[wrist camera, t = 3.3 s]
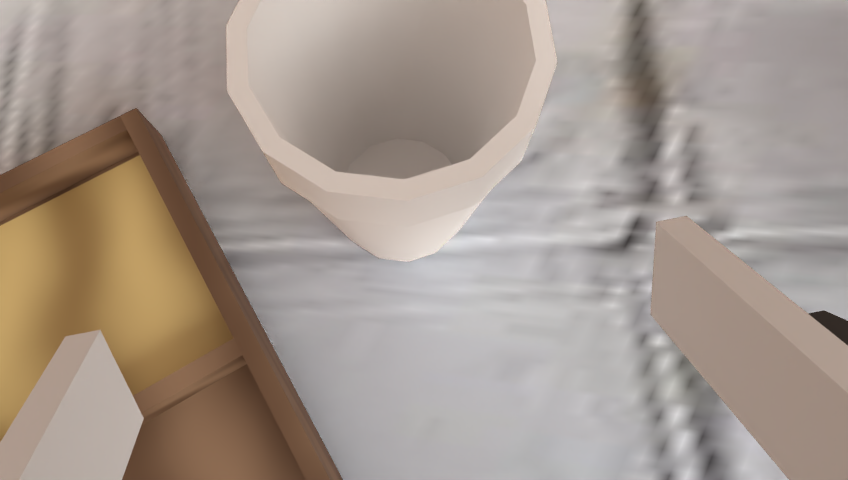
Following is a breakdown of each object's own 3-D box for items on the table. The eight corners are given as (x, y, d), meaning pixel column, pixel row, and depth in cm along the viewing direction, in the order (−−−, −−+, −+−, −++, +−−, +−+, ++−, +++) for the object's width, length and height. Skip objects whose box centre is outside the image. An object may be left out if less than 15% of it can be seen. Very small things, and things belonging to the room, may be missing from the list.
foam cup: (267, 224, 29) (155, 84, 17) (374, 82, 31) (345, -136, 19) (433, 331, 28) (445, 265, 15) (532, 174, 30) (614, 5, 18)
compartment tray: (161, 135, 30) (136, 108, 28) (406, 600, 25) (405, 623, 22) (-91, 261, 28) (-144, 246, 26) (113, 798, 23) (72, 850, 20)
